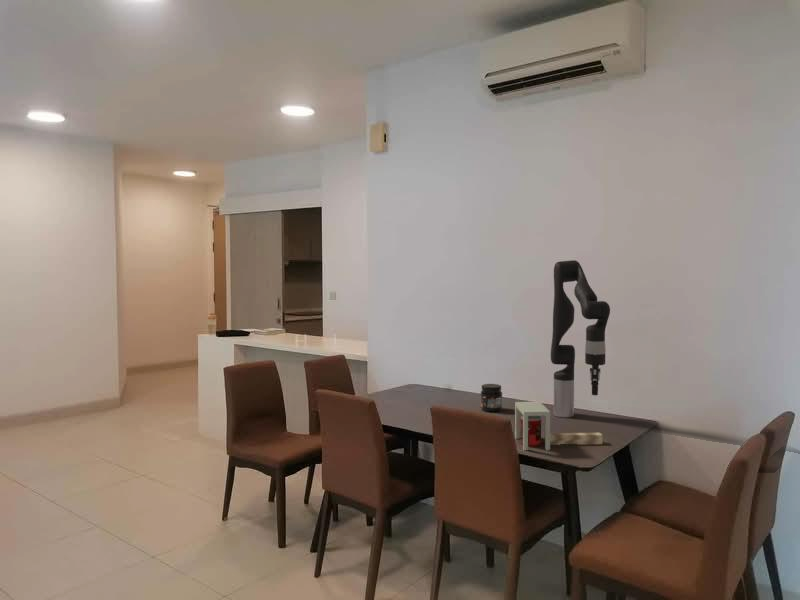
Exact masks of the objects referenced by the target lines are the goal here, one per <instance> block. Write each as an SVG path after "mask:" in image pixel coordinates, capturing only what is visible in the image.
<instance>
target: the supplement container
mask: <svg viewBox="0 0 800 600" xmlns="http://www.w3.org/2000/svg"><path fill="white" fill-rule="evenodd" d="M502 409H503V391H502V385H500V384H498V383H485V384H484V383H483V384H482V385H481V391H480V410H482V411H483V410H484V411H483V412H486V411H492V412H491V413H497V412H496V411H498V412H501V411H502Z"/></svg>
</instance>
